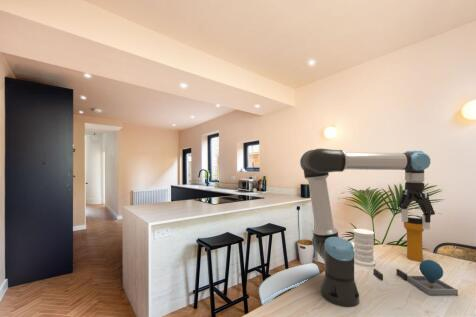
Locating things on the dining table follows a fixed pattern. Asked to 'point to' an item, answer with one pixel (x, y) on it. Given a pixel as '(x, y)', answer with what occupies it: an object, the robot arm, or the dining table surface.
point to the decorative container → (363, 247)
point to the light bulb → (431, 271)
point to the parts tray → (437, 290)
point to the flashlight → (414, 237)
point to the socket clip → (398, 272)
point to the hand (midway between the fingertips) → (414, 225)
